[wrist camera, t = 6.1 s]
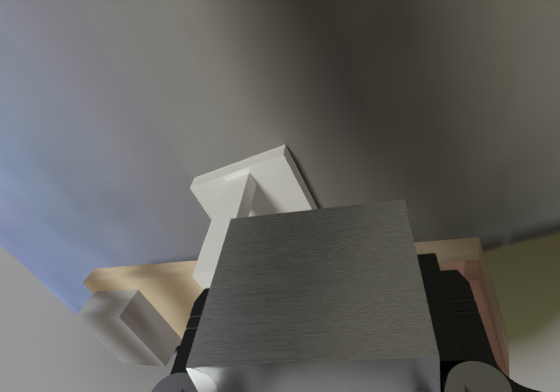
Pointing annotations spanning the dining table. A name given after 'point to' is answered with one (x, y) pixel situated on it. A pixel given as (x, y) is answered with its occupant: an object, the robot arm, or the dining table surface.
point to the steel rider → (317, 306)
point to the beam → (185, 289)
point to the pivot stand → (246, 199)
